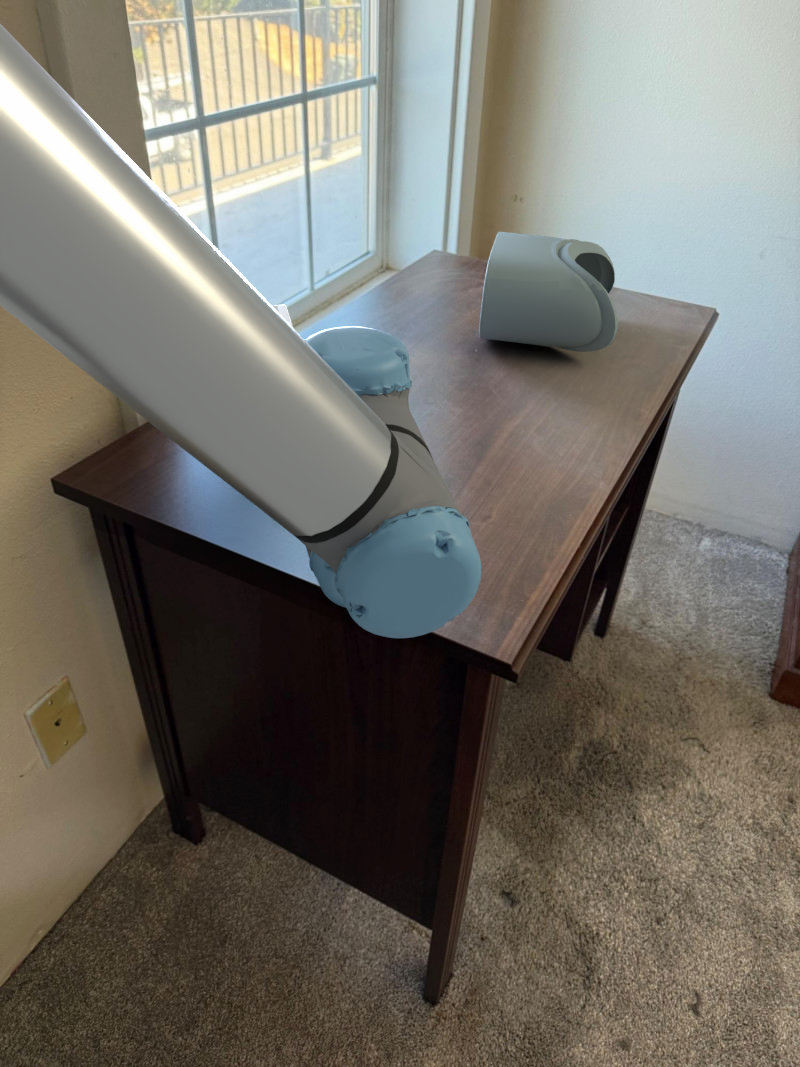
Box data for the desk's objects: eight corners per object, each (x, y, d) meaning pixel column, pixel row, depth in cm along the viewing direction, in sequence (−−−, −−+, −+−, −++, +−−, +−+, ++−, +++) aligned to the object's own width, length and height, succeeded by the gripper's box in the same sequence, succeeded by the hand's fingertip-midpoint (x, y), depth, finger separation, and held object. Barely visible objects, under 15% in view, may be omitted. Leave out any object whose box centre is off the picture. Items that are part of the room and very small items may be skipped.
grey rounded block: (491, 300, 125) (500, 221, 117) (606, 313, 123) (624, 232, 115) (476, 355, 108) (485, 266, 100) (609, 371, 106) (629, 281, 98)
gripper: (182, 521, 64) (165, 404, 79) (454, 481, 70) (389, 380, 86) (169, 446, 59) (154, 337, 75) (462, 411, 66) (391, 318, 81)
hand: (280, 360), depth 80 cm, fingers open, 13 cm apart
